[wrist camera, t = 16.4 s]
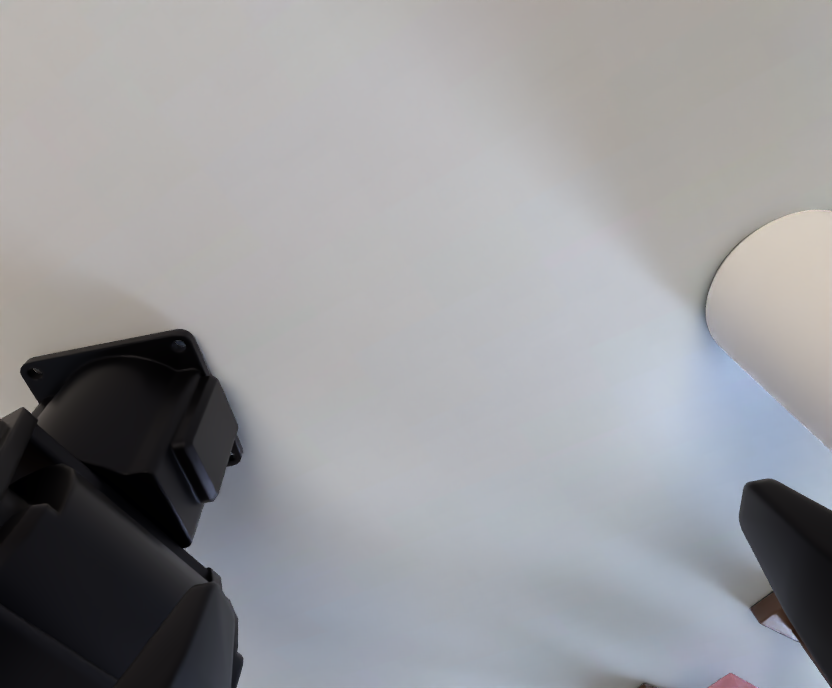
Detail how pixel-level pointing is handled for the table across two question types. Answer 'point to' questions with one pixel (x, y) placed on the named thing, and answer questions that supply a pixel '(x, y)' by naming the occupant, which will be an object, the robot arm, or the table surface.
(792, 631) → the stand
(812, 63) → the table surface
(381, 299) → the table surface
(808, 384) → the can
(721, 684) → the hanger
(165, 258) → the table surface
